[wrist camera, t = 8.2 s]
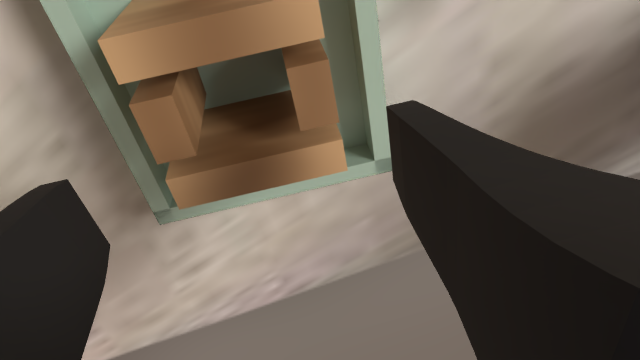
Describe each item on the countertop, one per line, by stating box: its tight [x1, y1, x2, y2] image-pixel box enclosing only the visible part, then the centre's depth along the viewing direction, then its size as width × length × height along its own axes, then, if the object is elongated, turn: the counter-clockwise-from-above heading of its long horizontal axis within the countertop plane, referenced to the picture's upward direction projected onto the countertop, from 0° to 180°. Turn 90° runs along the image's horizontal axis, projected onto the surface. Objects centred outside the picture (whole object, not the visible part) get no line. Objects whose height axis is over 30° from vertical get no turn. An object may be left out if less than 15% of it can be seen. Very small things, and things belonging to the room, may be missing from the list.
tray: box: [40, 0, 392, 225], centre depth 16 cm, size 10×11×2 cm
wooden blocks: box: [97, 0, 348, 210], centre depth 14 cm, size 6×7×4 cm
